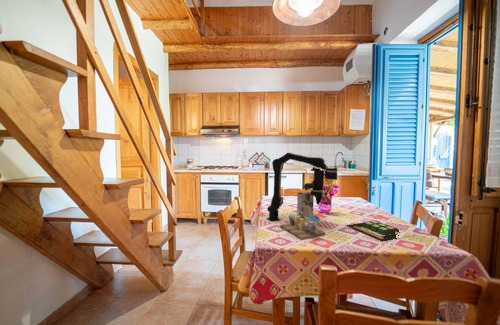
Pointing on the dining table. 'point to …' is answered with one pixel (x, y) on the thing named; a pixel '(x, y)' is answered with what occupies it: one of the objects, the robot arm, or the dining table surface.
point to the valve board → (301, 233)
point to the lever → (310, 216)
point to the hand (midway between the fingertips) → (317, 204)
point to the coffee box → (305, 203)
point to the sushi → (376, 230)
